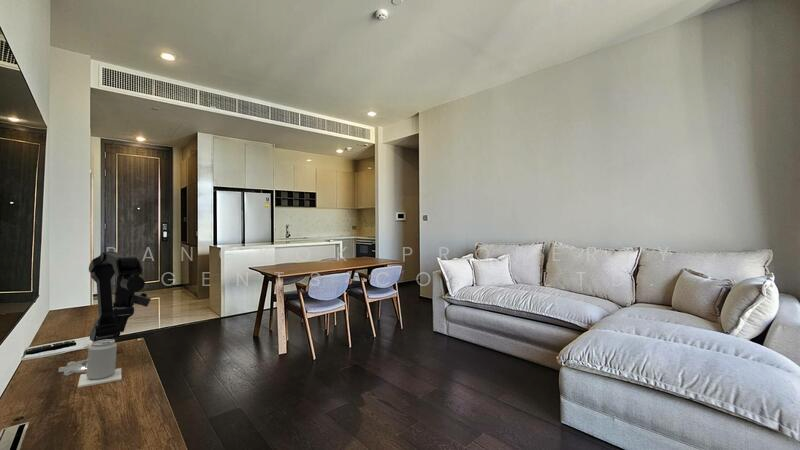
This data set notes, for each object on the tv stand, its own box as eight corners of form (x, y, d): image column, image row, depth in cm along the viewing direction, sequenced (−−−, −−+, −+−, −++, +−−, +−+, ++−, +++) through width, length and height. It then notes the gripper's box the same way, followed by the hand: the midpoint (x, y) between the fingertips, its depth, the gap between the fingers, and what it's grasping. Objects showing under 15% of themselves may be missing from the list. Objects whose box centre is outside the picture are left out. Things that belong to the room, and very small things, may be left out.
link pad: (80, 376, 118) (80, 374, 118) (121, 369, 125) (121, 367, 125) (77, 387, 110) (77, 385, 110) (121, 379, 117) (121, 377, 117)
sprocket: (61, 364, 128) (61, 359, 128) (115, 356, 138) (115, 352, 138) (55, 378, 116) (56, 373, 116) (115, 369, 126) (115, 364, 126)
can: (105, 380, 115) (108, 344, 115) (80, 381, 113) (83, 344, 114) (119, 371, 122) (122, 338, 123) (96, 372, 121) (99, 338, 121)
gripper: (151, 290, 131) (148, 331, 130) (148, 284, 145) (145, 321, 144) (114, 293, 124) (110, 336, 123) (114, 286, 138) (111, 324, 137)
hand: (121, 329), depth 132 cm, fingers open, 9 cm apart
